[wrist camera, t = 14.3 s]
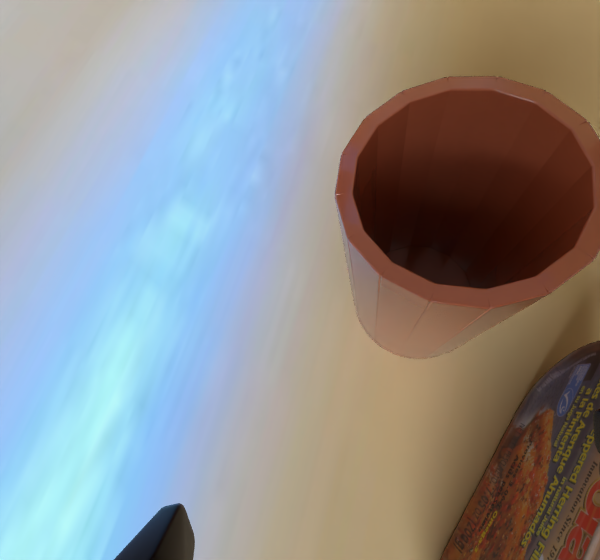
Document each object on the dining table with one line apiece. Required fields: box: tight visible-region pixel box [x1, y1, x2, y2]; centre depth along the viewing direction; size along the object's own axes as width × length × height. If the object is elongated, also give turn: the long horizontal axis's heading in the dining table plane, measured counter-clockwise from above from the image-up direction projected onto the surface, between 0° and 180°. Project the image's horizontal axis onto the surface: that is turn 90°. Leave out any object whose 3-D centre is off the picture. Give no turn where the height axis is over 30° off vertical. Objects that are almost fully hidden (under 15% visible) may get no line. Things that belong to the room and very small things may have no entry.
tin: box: [441, 341, 600, 560], centre depth 14 cm, size 15×3×8 cm, turn 146°
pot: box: [335, 76, 600, 359], centre depth 16 cm, size 7×7×12 cm
